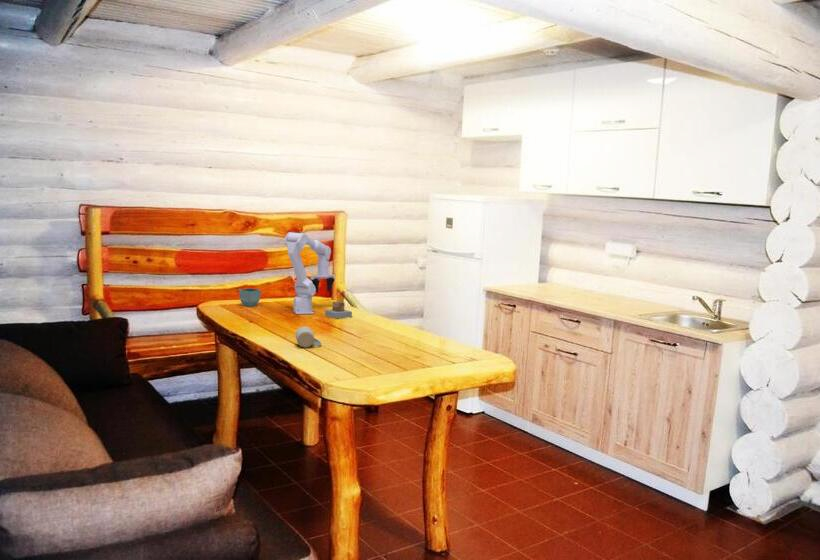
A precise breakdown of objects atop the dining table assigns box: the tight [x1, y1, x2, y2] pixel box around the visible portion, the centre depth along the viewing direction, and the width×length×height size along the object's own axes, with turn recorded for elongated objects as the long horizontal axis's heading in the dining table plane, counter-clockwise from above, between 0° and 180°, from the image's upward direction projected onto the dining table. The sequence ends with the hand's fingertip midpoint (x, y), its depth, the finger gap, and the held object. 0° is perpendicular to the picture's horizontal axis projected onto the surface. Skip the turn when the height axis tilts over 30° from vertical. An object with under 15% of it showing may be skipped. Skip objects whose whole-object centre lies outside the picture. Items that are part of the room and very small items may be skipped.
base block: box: [324, 308, 353, 320], centre depth 355 cm, size 10×10×3 cm
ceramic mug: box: [295, 326, 322, 349], centre depth 289 cm, size 11×8×8 cm
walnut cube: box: [331, 301, 346, 312], centre depth 355 cm, size 4×4×4 cm
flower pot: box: [238, 287, 262, 308], centre depth 376 cm, size 9×9×9 cm
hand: (322, 291), depth 375 cm, fingers open, 7 cm apart
